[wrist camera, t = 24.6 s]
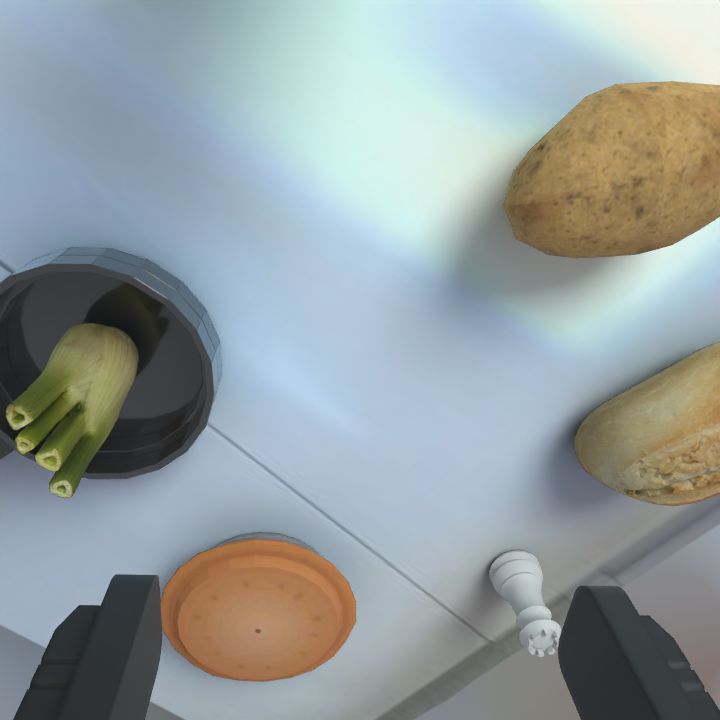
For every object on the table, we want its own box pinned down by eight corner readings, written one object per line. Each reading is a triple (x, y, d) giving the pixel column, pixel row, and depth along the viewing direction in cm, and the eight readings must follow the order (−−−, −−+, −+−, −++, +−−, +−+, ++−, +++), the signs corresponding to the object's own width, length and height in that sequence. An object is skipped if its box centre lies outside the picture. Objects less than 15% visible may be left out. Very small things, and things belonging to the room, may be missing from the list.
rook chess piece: (498, 592, 53) (527, 673, 46) (479, 560, 52) (506, 638, 44) (544, 573, 53) (581, 652, 46) (527, 539, 51) (563, 615, 44)
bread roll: (771, 387, 46) (855, 445, 39) (601, 491, 49) (651, 562, 42) (722, 296, 42) (806, 341, 35) (543, 414, 46) (586, 478, 38)
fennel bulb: (141, 396, 42) (82, 507, 31) (68, 385, 41) (-19, 496, 30) (146, 320, 40) (84, 412, 29) (68, 307, 39) (-26, 397, 28)
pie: (390, 583, 52) (397, 632, 48) (260, 669, 56) (255, 722, 51) (267, 477, 46) (262, 520, 42) (130, 580, 50) (112, 630, 45)
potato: (468, 120, 36) (506, 131, 29) (698, 48, 35) (797, 41, 28) (496, 269, 40) (536, 311, 33) (703, 207, 40) (790, 237, 32)
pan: (-56, 330, 40) (-95, 357, 36) (113, 197, 37) (90, 211, 33) (109, 478, 45) (90, 514, 42) (266, 373, 43) (261, 402, 39)
